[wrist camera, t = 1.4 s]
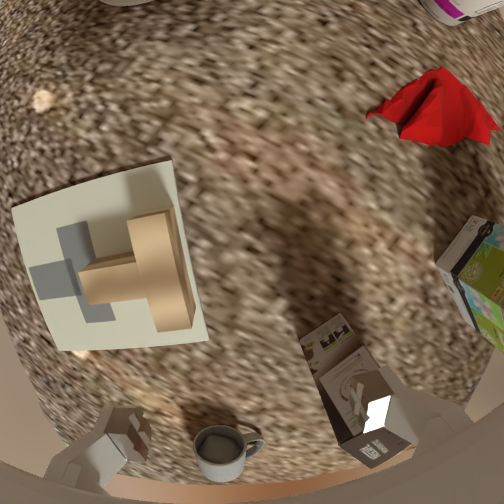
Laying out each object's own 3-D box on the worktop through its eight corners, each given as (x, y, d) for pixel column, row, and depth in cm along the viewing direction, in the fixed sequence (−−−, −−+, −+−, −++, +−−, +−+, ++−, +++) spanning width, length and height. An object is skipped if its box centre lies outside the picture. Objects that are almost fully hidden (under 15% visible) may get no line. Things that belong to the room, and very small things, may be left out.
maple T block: (87, 224, 27) (67, 234, 22) (174, 206, 27) (164, 213, 23) (115, 316, 30) (101, 337, 26) (196, 306, 30) (191, 328, 26)
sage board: (13, 207, 25) (11, 208, 25) (172, 160, 26) (171, 160, 26) (60, 348, 31) (58, 350, 31) (209, 338, 32) (209, 340, 32)
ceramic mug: (199, 451, 39) (199, 487, 31) (193, 423, 36) (191, 463, 29) (262, 449, 40) (268, 484, 32) (264, 421, 37) (271, 461, 30)
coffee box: (296, 340, 33) (336, 446, 18) (340, 310, 33) (406, 402, 17) (328, 380, 36) (369, 471, 20) (367, 354, 35) (424, 437, 20)
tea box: (431, 264, 32) (510, 313, 18) (470, 212, 31) (551, 239, 16) (462, 321, 36) (519, 368, 22) (496, 277, 34) (556, 312, 20)
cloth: (495, 99, 27) (505, 98, 24) (496, 180, 30) (506, 182, 28) (360, 36, 24) (368, 29, 22) (360, 142, 28) (370, 140, 26)
